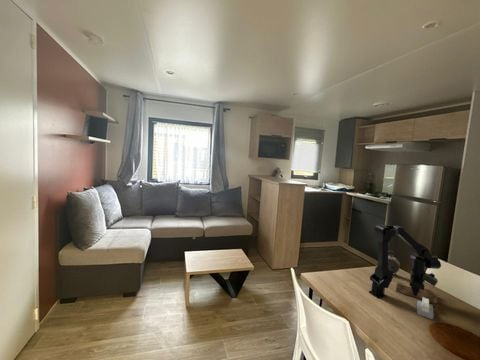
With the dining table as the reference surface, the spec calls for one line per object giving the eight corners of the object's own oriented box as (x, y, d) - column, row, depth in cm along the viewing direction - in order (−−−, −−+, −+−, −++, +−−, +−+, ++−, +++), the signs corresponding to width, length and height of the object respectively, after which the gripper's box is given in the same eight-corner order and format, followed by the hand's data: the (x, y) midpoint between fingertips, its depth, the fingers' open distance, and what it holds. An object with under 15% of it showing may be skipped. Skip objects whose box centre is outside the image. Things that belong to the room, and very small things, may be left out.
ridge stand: (416, 313, 110) (418, 304, 110) (417, 304, 118) (418, 295, 118) (432, 319, 107) (434, 309, 106) (431, 309, 114) (433, 300, 114)
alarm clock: (399, 275, 150) (401, 252, 149) (397, 278, 146) (400, 254, 145) (380, 269, 158) (383, 247, 156) (378, 271, 154) (381, 249, 152)
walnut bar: (395, 291, 130) (396, 283, 130) (395, 288, 133) (396, 280, 133) (436, 303, 120) (437, 294, 120) (435, 300, 123) (436, 291, 123)
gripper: (438, 278, 113) (434, 308, 114) (436, 267, 127) (433, 292, 129) (411, 271, 120) (407, 298, 121) (412, 260, 134) (409, 285, 136)
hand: (415, 293), depth 126 cm, fingers closed on walnut bar, 4 cm apart
